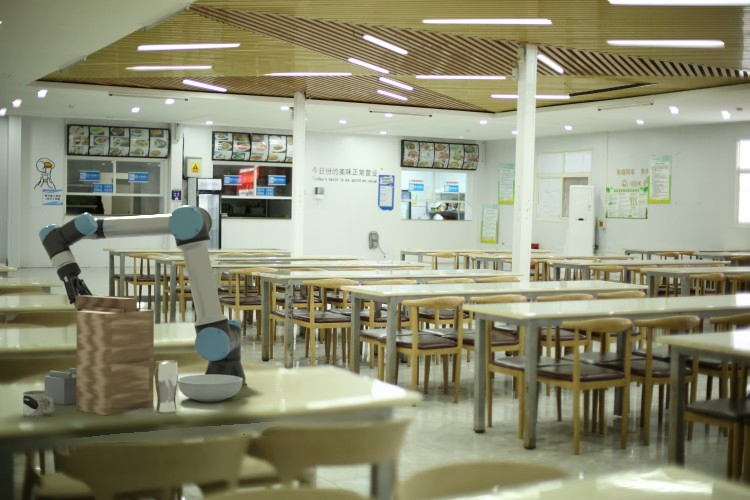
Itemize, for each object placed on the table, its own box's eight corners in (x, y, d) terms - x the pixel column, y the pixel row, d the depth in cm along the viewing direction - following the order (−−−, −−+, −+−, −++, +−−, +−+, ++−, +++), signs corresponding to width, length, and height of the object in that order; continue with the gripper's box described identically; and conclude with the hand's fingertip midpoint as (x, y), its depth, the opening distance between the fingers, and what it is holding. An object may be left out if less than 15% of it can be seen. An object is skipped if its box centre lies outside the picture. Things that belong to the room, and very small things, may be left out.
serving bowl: (243, 404, 282) (243, 383, 282) (175, 406, 279) (175, 384, 278) (242, 393, 303) (242, 373, 302) (179, 394, 299) (179, 374, 299)
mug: (18, 415, 262) (18, 393, 262) (34, 411, 268) (34, 389, 268) (45, 418, 258) (45, 395, 258) (61, 414, 264) (61, 392, 264)
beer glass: (156, 414, 266) (156, 363, 265) (152, 409, 272) (152, 360, 272) (180, 412, 268) (180, 362, 268) (175, 408, 275) (175, 359, 275)
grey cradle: (44, 401, 285) (44, 371, 285) (76, 395, 295) (76, 367, 295) (64, 404, 279) (64, 374, 279) (95, 399, 289) (95, 370, 289)
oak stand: (76, 409, 271) (76, 308, 271) (123, 401, 286) (123, 304, 285) (106, 415, 263) (106, 310, 263) (153, 406, 278) (153, 306, 278)
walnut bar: (75, 308, 282) (75, 295, 282) (85, 307, 285) (85, 295, 285) (125, 312, 269) (125, 299, 268) (136, 311, 272) (136, 298, 272)
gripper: (70, 275, 322) (96, 327, 319) (41, 267, 297) (69, 323, 294) (89, 265, 322) (114, 317, 319) (61, 256, 298) (89, 312, 294)
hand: (93, 320), depth 307 cm, fingers open, 13 cm apart
